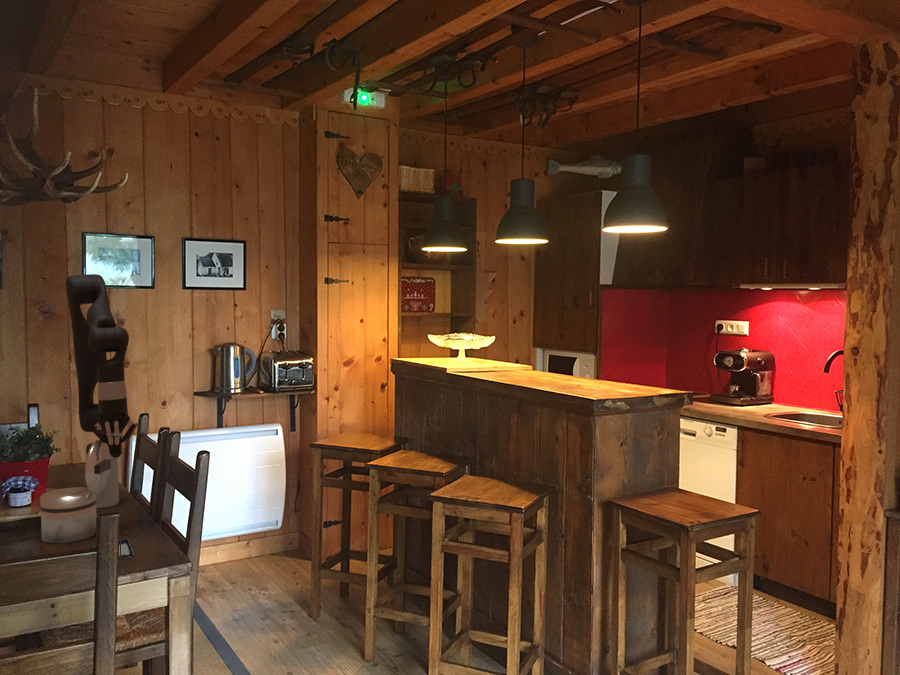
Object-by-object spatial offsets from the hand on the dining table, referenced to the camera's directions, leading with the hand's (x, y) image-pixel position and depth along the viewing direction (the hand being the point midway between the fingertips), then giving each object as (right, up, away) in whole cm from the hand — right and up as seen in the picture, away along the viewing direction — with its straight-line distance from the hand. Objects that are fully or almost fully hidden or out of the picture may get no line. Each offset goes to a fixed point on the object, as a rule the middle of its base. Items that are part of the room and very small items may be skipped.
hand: (116, 457), depth 212 cm
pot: (-13, -22, -2) cm, 25 cm away
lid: (-5, -2, -2) cm, 6 cm away
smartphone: (+7, -23, -16) cm, 29 cm away
